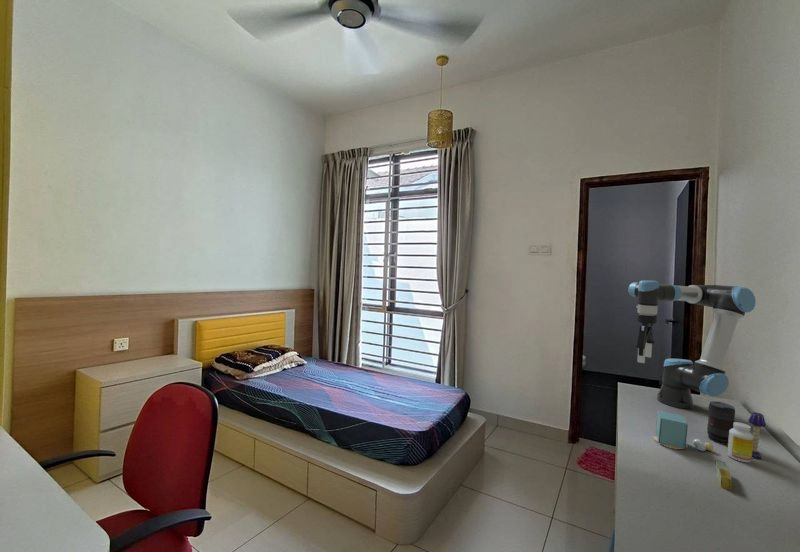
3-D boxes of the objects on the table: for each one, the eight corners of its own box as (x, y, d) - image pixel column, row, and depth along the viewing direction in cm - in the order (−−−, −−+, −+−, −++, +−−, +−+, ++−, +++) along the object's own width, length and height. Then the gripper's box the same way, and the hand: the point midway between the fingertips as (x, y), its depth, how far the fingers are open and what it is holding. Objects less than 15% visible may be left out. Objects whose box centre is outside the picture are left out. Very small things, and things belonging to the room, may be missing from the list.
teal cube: (655, 434, 149) (657, 410, 149) (681, 439, 145) (683, 415, 145) (658, 442, 142) (660, 418, 141) (685, 449, 138) (687, 423, 137)
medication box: (714, 470, 125) (715, 459, 125) (725, 473, 124) (725, 462, 123) (720, 488, 115) (721, 476, 115) (732, 491, 114) (732, 479, 114)
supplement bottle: (756, 464, 130) (759, 430, 129) (735, 461, 131) (738, 427, 131) (742, 454, 137) (745, 422, 136) (722, 452, 138) (725, 419, 137)
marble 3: (703, 447, 141) (704, 440, 141) (713, 451, 139) (714, 443, 138) (701, 449, 139) (702, 442, 139) (711, 453, 137) (712, 445, 137)
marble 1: (693, 444, 143) (694, 436, 143) (703, 447, 141) (704, 440, 141) (691, 446, 142) (692, 438, 141) (701, 449, 139) (701, 442, 139)
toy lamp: (764, 461, 133) (768, 417, 132) (747, 457, 135) (751, 414, 134) (759, 455, 137) (763, 412, 136) (743, 451, 139) (747, 409, 138)
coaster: (658, 433, 151) (658, 432, 151) (691, 444, 143) (691, 443, 143) (649, 440, 145) (649, 439, 144) (682, 453, 136) (682, 451, 136)
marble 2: (696, 447, 140) (697, 440, 140) (706, 451, 138) (707, 443, 138) (694, 450, 139) (695, 442, 138) (704, 453, 136) (705, 445, 136)
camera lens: (700, 434, 152) (704, 400, 151) (720, 436, 152) (723, 401, 151) (717, 444, 144) (720, 408, 143) (737, 446, 144) (741, 409, 143)
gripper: (643, 310, 176) (641, 353, 177) (630, 315, 158) (627, 363, 159) (662, 312, 170) (659, 356, 172) (650, 318, 153) (648, 367, 154)
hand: (644, 359), depth 165 cm, fingers open, 13 cm apart
